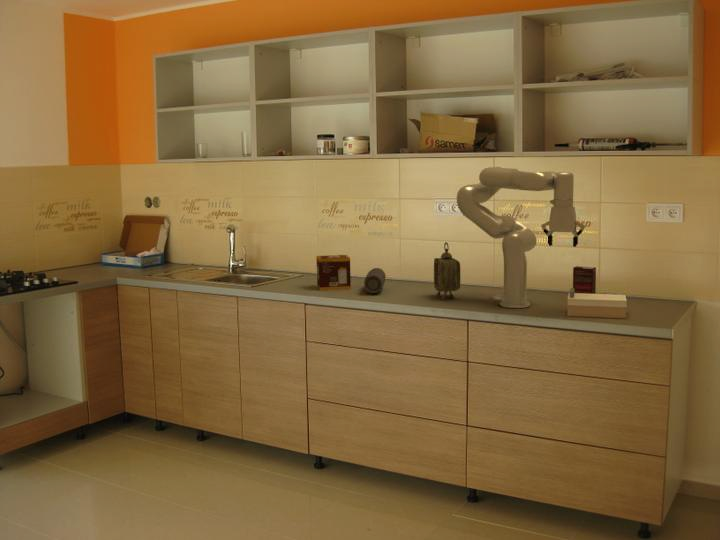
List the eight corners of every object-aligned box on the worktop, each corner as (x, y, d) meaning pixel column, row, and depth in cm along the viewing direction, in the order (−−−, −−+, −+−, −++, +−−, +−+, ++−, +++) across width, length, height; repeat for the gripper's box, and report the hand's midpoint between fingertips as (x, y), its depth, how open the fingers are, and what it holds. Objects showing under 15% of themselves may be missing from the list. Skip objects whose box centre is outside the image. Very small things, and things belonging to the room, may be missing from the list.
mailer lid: (567, 305, 313) (567, 292, 312) (568, 299, 325) (568, 287, 324) (626, 307, 307) (626, 294, 306) (625, 301, 319) (625, 288, 318)
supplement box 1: (316, 287, 390) (316, 255, 387) (347, 285, 392) (347, 254, 390) (319, 290, 379) (318, 258, 377) (351, 289, 382) (350, 257, 379)
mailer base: (567, 316, 314) (567, 300, 314) (568, 310, 325) (568, 295, 324) (625, 318, 308) (626, 302, 307) (624, 312, 319) (625, 297, 318)
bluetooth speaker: (383, 295, 364) (383, 274, 363) (363, 295, 365) (362, 274, 364) (386, 287, 386) (386, 266, 385) (367, 287, 387) (367, 266, 386)
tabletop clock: (433, 295, 363) (433, 240, 359) (453, 294, 364) (453, 240, 360) (440, 301, 349) (440, 244, 345) (460, 300, 350) (461, 244, 346)
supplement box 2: (595, 304, 337) (596, 267, 334) (592, 306, 333) (593, 268, 330) (575, 302, 341) (576, 265, 339) (571, 304, 338) (572, 267, 335)
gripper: (539, 203, 317) (538, 246, 320) (583, 204, 309) (582, 248, 312) (544, 202, 324) (543, 244, 326) (587, 203, 316) (586, 245, 319)
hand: (562, 246), depth 319 cm, fingers open, 9 cm apart
